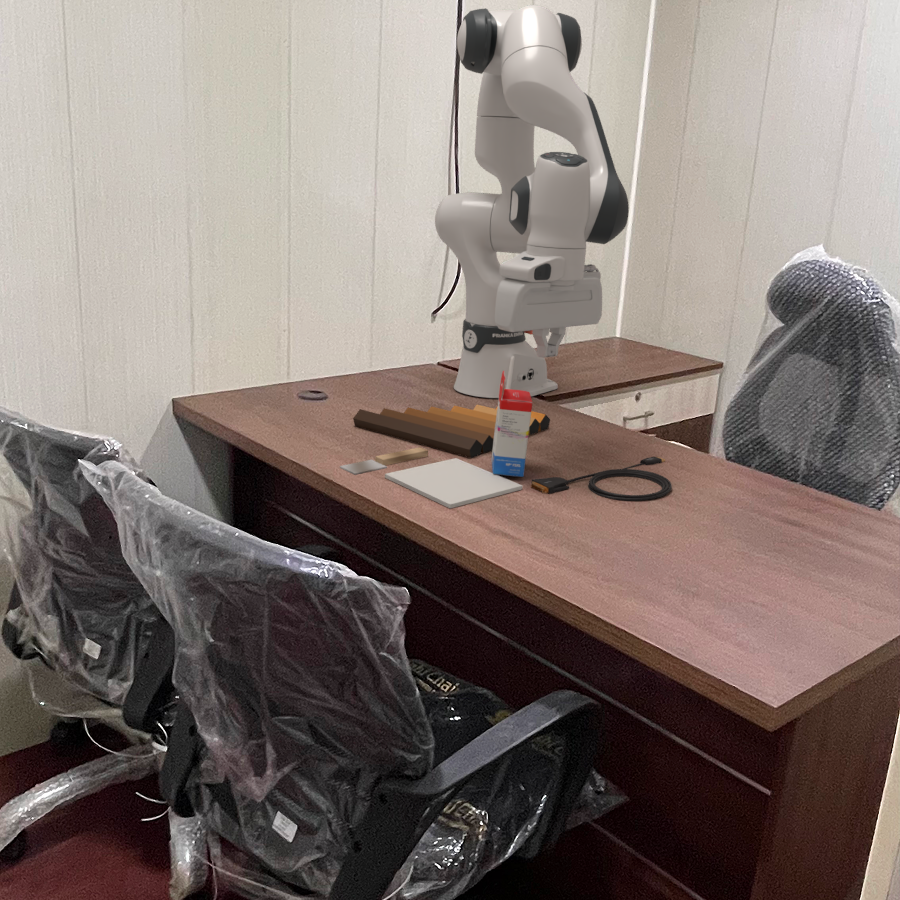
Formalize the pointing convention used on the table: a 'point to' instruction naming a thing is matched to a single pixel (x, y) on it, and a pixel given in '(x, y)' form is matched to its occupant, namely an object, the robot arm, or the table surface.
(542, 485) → the cable
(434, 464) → the mat
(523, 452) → the ink box
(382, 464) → the turner
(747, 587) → the table surface
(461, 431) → the pan flute
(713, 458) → the table surface
